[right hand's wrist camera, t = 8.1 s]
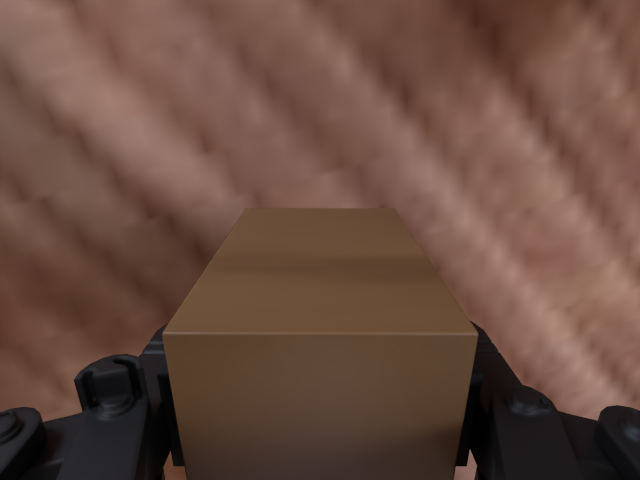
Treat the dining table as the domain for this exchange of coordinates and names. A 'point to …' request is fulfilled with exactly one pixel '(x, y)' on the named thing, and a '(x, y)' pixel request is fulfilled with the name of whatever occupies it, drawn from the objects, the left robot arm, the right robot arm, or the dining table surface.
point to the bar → (320, 353)
